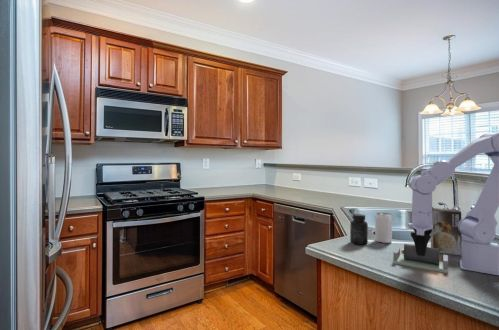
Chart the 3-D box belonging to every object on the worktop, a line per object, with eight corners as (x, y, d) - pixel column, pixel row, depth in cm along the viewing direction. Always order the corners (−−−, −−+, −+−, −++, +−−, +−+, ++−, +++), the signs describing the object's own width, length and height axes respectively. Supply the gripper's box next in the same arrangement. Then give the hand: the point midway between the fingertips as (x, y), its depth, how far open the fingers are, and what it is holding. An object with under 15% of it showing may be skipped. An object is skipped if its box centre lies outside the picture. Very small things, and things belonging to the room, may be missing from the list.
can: (372, 241, 123) (372, 213, 123) (378, 238, 128) (378, 211, 128) (388, 244, 119) (388, 215, 119) (394, 241, 123) (394, 213, 123)
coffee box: (458, 251, 110) (458, 209, 110) (462, 256, 104) (462, 212, 104) (430, 247, 114) (430, 207, 114) (432, 252, 108) (432, 210, 108)
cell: (439, 262, 95) (439, 247, 95) (439, 266, 91) (439, 251, 91) (402, 256, 101) (402, 242, 101) (400, 260, 97) (401, 245, 97)
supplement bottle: (354, 240, 125) (354, 212, 125) (370, 243, 120) (370, 214, 120) (347, 243, 120) (347, 214, 120) (363, 246, 116) (363, 217, 115)
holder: (447, 265, 95) (447, 254, 95) (447, 273, 88) (447, 261, 88) (396, 256, 103) (396, 247, 103) (393, 263, 97) (393, 253, 97)
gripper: (410, 207, 104) (410, 245, 104) (405, 213, 92) (405, 255, 92) (433, 209, 100) (433, 248, 100) (432, 216, 88) (431, 260, 88)
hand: (421, 252), depth 96 cm, fingers open, 7 cm apart
